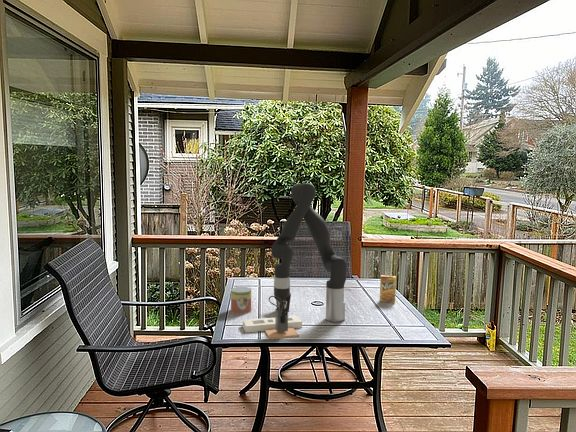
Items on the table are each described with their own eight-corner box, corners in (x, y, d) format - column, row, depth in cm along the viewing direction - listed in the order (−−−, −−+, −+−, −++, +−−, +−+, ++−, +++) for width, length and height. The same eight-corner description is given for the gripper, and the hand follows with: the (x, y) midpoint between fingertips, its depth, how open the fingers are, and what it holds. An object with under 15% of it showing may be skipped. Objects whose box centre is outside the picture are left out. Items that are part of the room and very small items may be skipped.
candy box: (379, 301, 265) (380, 276, 264) (380, 299, 269) (381, 274, 268) (394, 303, 263) (395, 277, 261) (395, 301, 267) (396, 275, 265)
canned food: (232, 315, 239) (232, 293, 238) (229, 308, 250) (229, 287, 249) (253, 313, 242) (253, 291, 241) (249, 306, 253) (249, 286, 252)
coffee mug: (292, 309, 249) (292, 291, 248) (288, 314, 241) (288, 296, 240) (272, 307, 253) (272, 290, 251) (268, 312, 244) (268, 294, 243)
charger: (285, 328, 215) (285, 307, 214) (287, 331, 211) (287, 310, 210) (275, 329, 214) (275, 308, 213) (277, 332, 210) (277, 311, 209)
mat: (292, 328, 219) (292, 327, 219) (298, 336, 210) (298, 334, 210) (264, 331, 216) (264, 329, 216) (269, 339, 206) (269, 337, 206)
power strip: (296, 321, 230) (296, 315, 230) (302, 327, 222) (302, 321, 221) (242, 325, 223) (242, 319, 223) (246, 332, 214) (245, 326, 214)
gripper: (293, 289, 204) (293, 326, 206) (285, 281, 218) (285, 316, 220) (277, 290, 202) (277, 327, 204) (270, 282, 216) (270, 317, 218)
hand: (281, 321), depth 212 cm, fingers closed on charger, 4 cm apart
